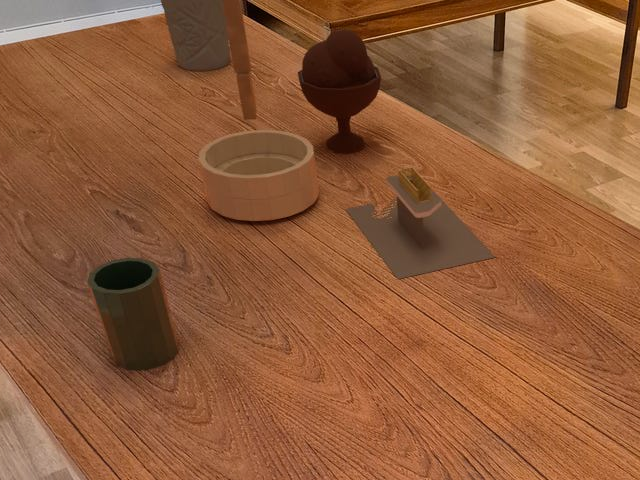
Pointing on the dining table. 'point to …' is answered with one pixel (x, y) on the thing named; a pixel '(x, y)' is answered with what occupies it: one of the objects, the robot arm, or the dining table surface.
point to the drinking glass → (198, 33)
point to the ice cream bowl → (340, 84)
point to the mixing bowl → (259, 175)
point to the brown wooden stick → (240, 56)
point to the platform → (418, 230)
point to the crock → (134, 313)
